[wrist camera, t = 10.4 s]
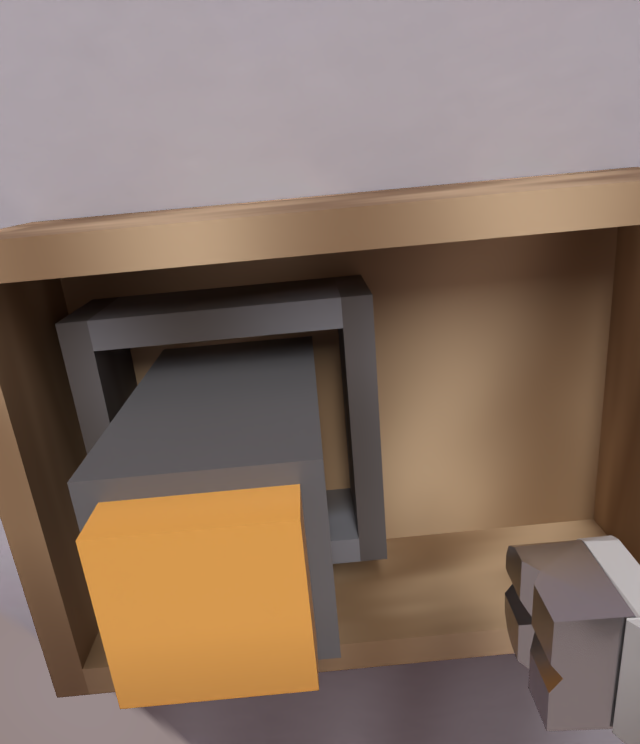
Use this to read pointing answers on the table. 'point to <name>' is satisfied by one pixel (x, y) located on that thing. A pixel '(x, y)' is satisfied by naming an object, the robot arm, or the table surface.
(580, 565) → the robot arm
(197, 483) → the block
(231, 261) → the box
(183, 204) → the table surface
